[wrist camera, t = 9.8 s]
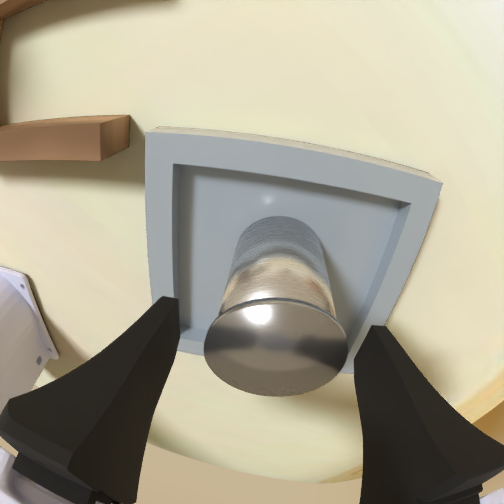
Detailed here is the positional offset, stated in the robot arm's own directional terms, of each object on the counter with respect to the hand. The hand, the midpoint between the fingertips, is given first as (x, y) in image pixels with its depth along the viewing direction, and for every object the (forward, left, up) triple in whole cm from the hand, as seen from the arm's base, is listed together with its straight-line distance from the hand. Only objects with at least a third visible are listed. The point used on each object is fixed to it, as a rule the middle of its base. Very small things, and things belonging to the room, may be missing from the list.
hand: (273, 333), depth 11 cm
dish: (0, 0, -5) cm, 5 cm away
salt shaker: (+1, 0, -4) cm, 4 cm away
